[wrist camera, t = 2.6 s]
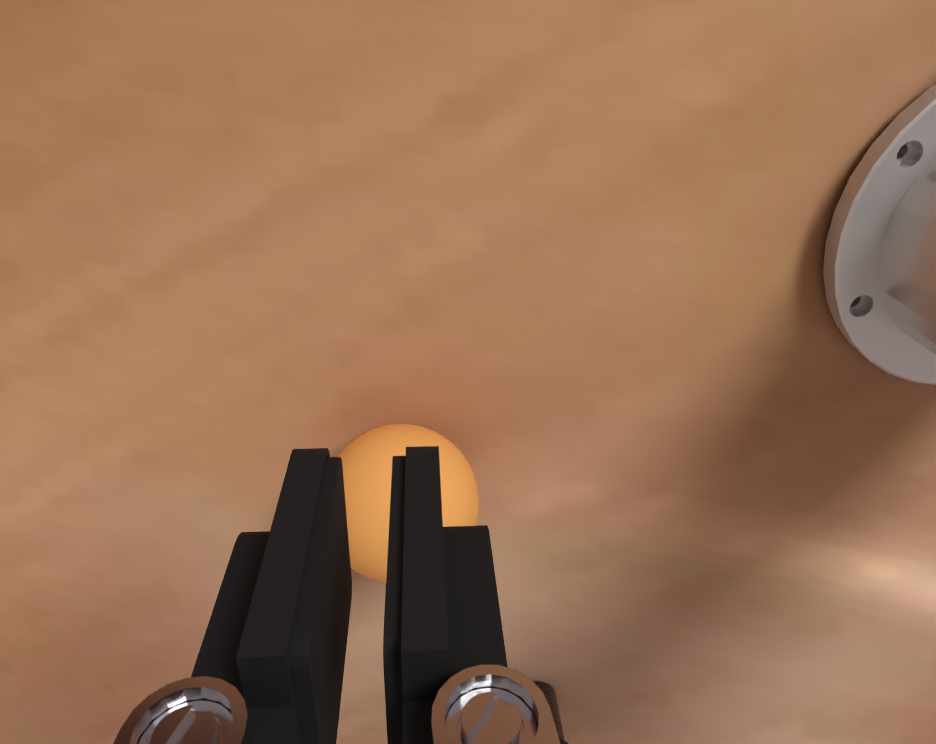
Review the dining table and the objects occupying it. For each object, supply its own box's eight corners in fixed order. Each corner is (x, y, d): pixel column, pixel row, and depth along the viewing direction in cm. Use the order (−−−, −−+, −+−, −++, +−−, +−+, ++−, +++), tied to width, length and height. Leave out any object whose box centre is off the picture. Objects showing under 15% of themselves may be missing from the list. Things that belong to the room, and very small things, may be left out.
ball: (324, 396, 28) (302, 491, 22) (474, 393, 28) (488, 486, 23) (334, 514, 30) (318, 622, 25) (471, 510, 31) (482, 616, 26)
